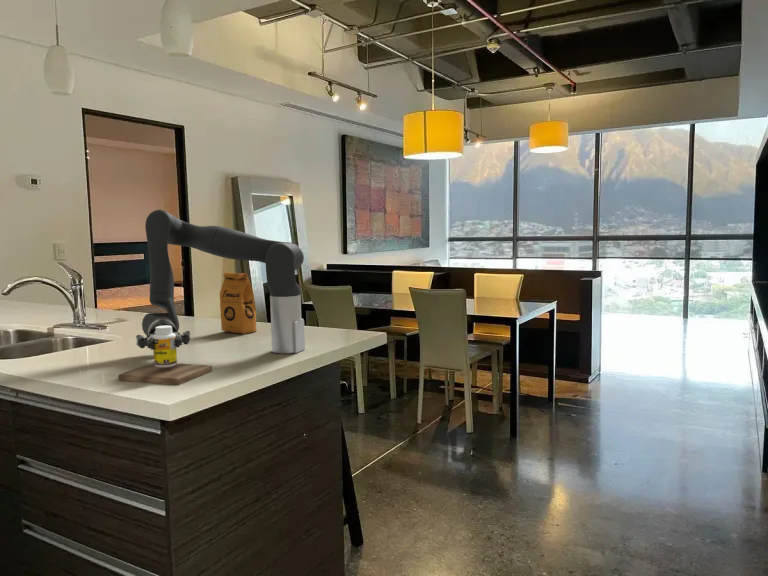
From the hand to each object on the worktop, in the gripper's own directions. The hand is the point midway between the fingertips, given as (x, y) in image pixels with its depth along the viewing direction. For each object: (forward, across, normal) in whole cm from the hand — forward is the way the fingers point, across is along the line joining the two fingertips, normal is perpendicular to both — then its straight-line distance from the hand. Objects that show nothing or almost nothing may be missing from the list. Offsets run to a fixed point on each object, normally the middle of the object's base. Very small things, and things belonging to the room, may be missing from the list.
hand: (165, 344), depth 147 cm
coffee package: (-60, +28, +10) cm, 67 cm away
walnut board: (-2, 0, +9) cm, 9 cm away
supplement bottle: (-3, 0, +6) cm, 7 cm away
